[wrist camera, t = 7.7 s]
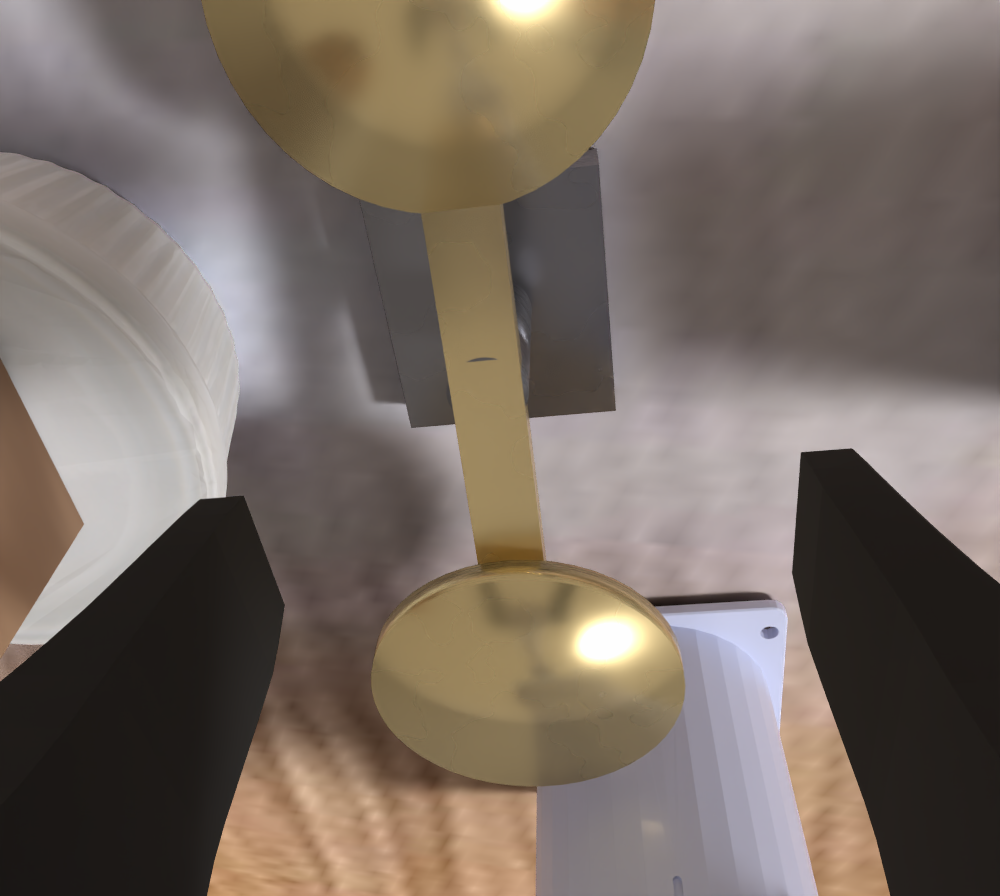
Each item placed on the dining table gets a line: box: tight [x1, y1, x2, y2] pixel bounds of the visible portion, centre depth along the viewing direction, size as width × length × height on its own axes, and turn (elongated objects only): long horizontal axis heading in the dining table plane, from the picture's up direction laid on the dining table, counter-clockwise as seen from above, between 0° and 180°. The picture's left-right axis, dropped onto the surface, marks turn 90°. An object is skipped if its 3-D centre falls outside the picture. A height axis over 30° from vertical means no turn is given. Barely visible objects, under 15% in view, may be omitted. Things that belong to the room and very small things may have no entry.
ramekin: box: [0, 152, 240, 645], centre depth 21 cm, size 11×11×5 cm
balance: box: [201, 0, 685, 786], centre depth 19 cm, size 21×7×6 cm, turn 7°
